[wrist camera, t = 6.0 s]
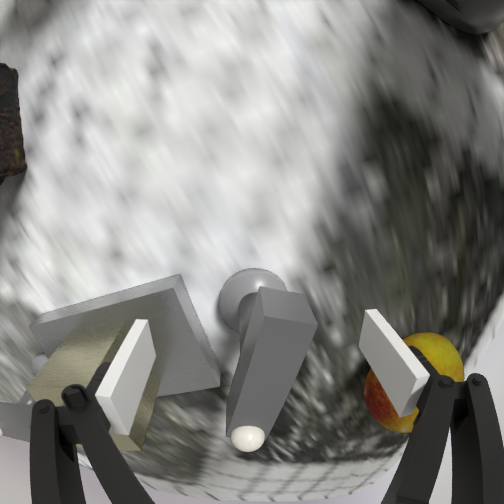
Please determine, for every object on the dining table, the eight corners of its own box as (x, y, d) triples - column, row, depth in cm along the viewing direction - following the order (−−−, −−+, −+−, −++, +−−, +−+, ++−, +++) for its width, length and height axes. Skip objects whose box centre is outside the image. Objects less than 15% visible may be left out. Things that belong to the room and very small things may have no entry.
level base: (180, 273, 20) (135, 371, 10) (220, 367, 23) (215, 475, 13) (41, 313, 21) (-24, 381, 11) (87, 387, 24) (48, 463, 13)
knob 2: (232, 241, 20) (227, 323, 10) (302, 256, 20) (356, 342, 10) (210, 342, 22) (197, 451, 12) (270, 352, 23) (289, 459, 13)
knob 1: (64, 349, 22) (12, 423, 12) (90, 387, 23) (52, 463, 13) (19, 356, 22) (-28, 413, 12) (42, 389, 24) (4, 450, 14)
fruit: (380, 403, 26) (408, 456, 18) (334, 371, 24) (362, 436, 16) (446, 344, 24) (487, 388, 17) (413, 298, 22) (466, 347, 14)
